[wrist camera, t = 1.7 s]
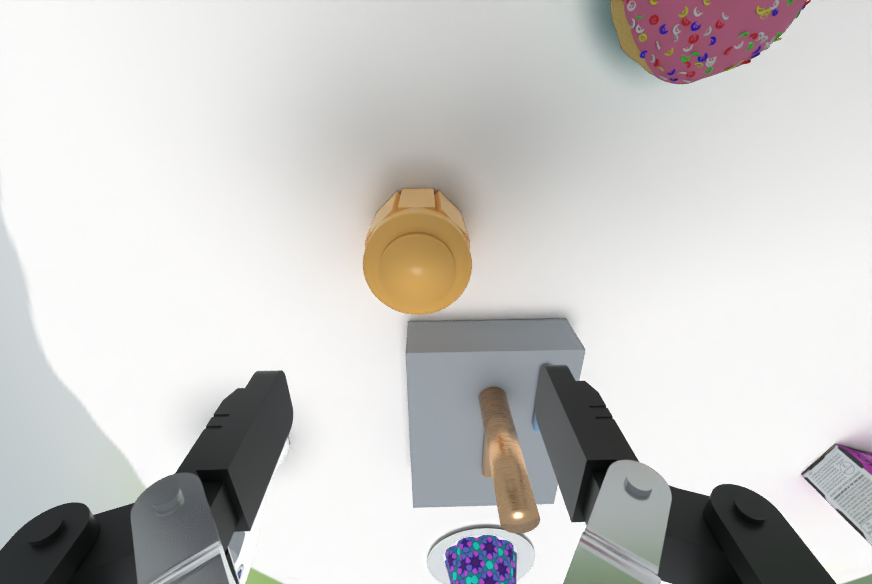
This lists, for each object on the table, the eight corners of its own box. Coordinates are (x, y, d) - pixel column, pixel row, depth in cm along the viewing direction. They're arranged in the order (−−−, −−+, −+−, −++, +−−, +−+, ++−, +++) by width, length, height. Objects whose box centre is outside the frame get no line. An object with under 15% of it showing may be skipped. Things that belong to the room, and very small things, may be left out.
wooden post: (479, 386, 27) (501, 509, 19) (507, 386, 27) (542, 508, 19) (477, 408, 28) (499, 534, 20) (505, 407, 28) (537, 533, 20)
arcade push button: (372, 188, 25) (355, 219, 19) (463, 188, 25) (475, 218, 19) (378, 272, 27) (365, 323, 21) (460, 270, 28) (471, 321, 21)
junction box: (407, 321, 29) (404, 361, 25) (566, 318, 30) (590, 357, 25) (414, 467, 37) (412, 517, 32) (541, 464, 37) (556, 513, 32)
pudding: (507, 507, 40) (517, 562, 36) (549, 564, 45) (563, 618, 40) (407, 543, 43) (404, 599, 38) (457, 593, 47) (460, 648, 43)
